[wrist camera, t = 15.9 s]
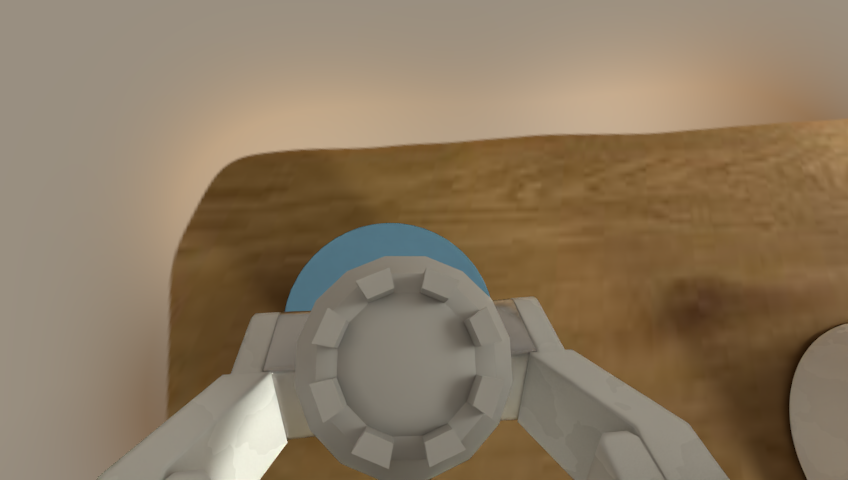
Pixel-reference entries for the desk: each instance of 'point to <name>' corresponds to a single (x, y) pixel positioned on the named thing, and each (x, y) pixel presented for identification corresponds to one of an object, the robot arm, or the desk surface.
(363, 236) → the yogurt tub
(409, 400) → the rook chess piece
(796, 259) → the desk surface
